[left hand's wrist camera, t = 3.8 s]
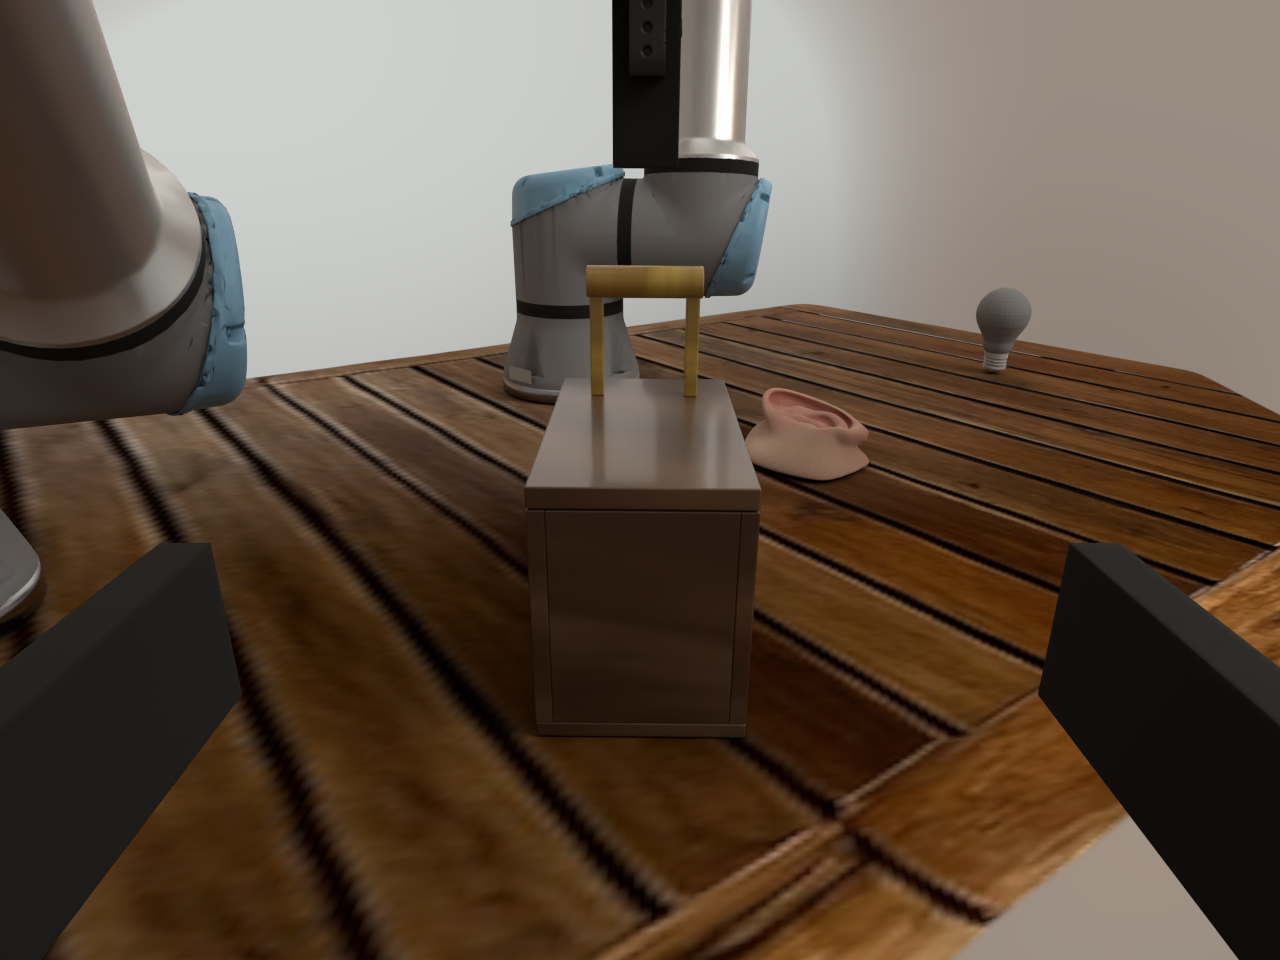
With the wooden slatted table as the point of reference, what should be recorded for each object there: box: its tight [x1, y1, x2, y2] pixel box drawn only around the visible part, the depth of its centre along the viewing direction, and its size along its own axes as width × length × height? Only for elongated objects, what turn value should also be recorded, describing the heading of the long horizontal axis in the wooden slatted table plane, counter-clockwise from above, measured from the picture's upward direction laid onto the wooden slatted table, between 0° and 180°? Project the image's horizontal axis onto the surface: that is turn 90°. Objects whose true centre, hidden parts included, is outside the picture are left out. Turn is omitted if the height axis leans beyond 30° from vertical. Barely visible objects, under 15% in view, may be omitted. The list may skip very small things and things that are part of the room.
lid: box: [524, 265, 762, 511], centre depth 39 cm, size 17×9×8 cm, turn 0°
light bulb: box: [976, 288, 1031, 372], centre depth 97 cm, size 6×6×10 cm
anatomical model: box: [745, 388, 869, 480], centre depth 71 cm, size 13×4×12 cm
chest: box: [525, 508, 760, 738], centre depth 42 cm, size 17×9×11 cm, turn 0°
